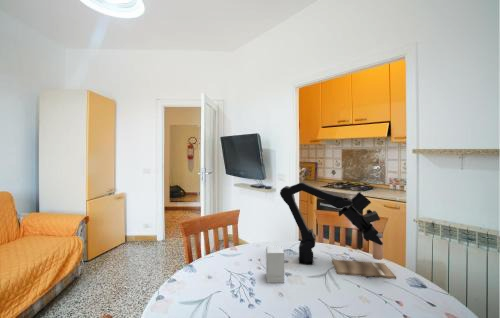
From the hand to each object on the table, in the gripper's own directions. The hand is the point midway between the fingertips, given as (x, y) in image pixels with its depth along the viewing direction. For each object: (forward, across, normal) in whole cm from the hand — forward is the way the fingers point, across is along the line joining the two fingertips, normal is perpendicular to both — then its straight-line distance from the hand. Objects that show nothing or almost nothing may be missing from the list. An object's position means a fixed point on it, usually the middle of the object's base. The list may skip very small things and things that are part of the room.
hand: (380, 242), depth 100 cm
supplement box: (-22, -20, +42) cm, 51 cm away
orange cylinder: (+4, 0, +6) cm, 7 cm away
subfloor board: (+4, -1, +15) cm, 16 cm away
